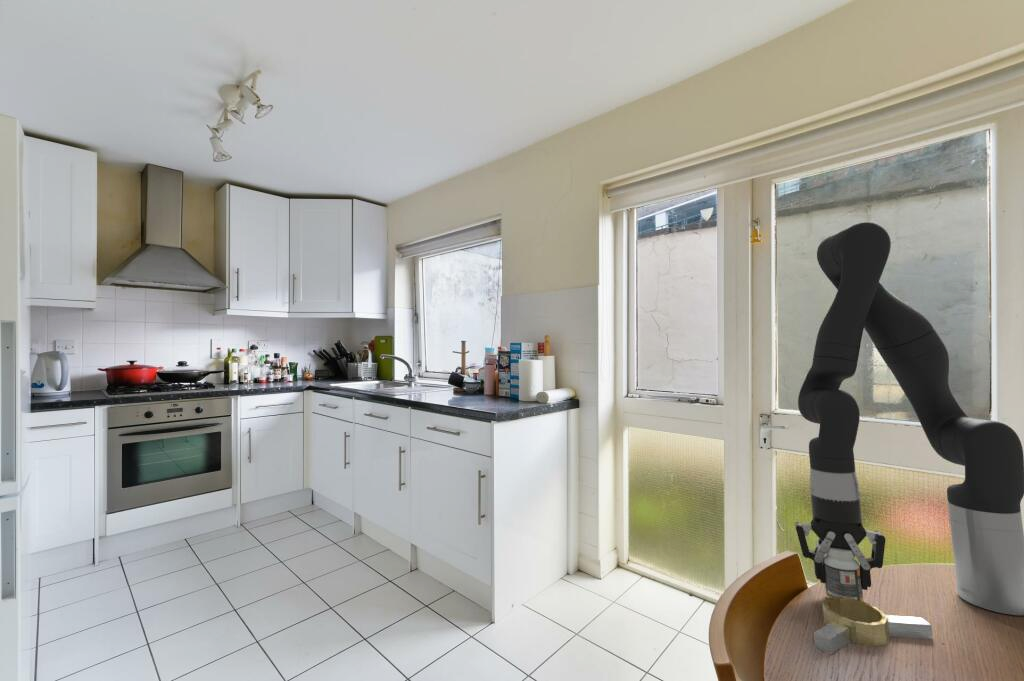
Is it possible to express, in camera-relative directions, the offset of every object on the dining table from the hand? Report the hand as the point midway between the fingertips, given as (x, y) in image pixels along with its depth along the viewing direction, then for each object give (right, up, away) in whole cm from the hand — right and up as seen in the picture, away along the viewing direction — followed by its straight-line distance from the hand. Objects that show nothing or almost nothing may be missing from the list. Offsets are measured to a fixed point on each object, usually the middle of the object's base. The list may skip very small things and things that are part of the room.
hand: (842, 584), depth 82 cm
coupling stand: (-5, -3, -9) cm, 10 cm away
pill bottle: (0, -3, 0) cm, 3 cm away
